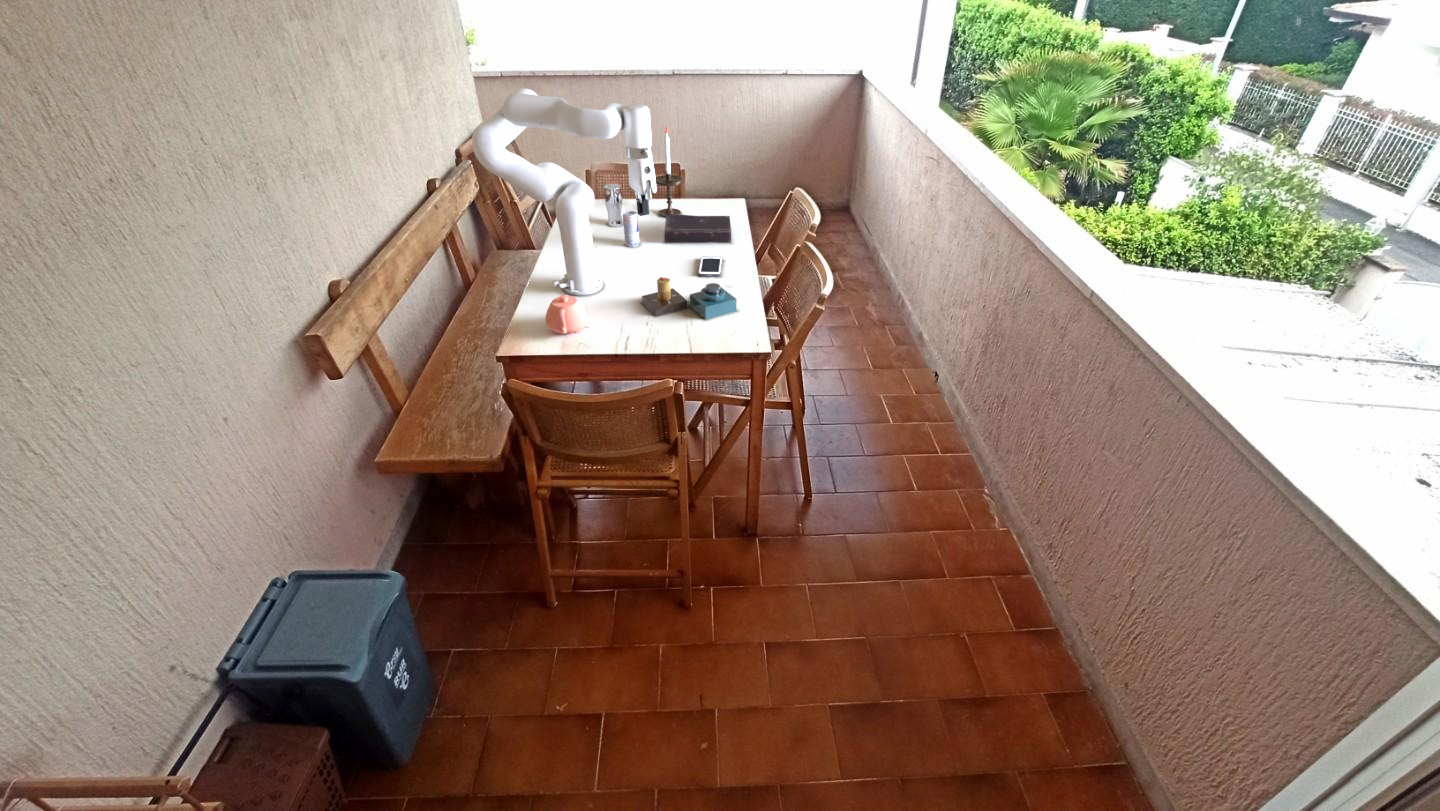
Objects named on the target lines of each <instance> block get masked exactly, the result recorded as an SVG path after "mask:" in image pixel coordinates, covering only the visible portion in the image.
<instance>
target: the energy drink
mask: <svg viewBox="0 0 1440 811" xmlns="http://www.w3.org/2000/svg"><path fill="white" fill-rule="evenodd" d="M622 220H623V234H624V235H623V236H624V242H625V243H624V244H625V246H626V247H627V248H636V247H639V245H640V242H641V241H640V231H639V218H638V213H637V211H634V210H628V211H624V212H622Z"/></svg>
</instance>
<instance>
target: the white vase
mask: <svg viewBox="0 0 1440 811" xmlns="http://www.w3.org/2000/svg"><path fill="white" fill-rule="evenodd" d="M603 198H604V199H603V200H604V204H605V208H606V212H607V225H608V226H610V227H615V228H616V227H620V226H624V224H623V214H622V209H623V193H622V187H621V184H618V183H608V184H605V185H603Z"/></svg>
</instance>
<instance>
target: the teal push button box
mask: <svg viewBox="0 0 1440 811" xmlns="http://www.w3.org/2000/svg"><path fill="white" fill-rule="evenodd" d="M689 307H690V308H691V309H693V311H695V312H696V313H697V314H698V315H700V316H701V317H702V318H703V319H705V320H709V319H713V318H715V317H720V316H723V315H727V314H730V313H734V312H737V298H736V297H735V296H734V295H732V294H731V293H729V292H728V291H727V290H726V289H724V288H723V287H722V286H720V293H719V294H717V295H709V294H706V286H704V287H703V288H701V290H700V291H697V292H693V293H690V294H689Z"/></svg>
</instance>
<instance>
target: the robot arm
mask: <svg viewBox="0 0 1440 811" xmlns="http://www.w3.org/2000/svg"><path fill="white" fill-rule="evenodd" d="M651 125H652V123H651V111H650V108H649V107H648V106H647V105H644V104H623V103H618V102H606V103H605V104H603V105H602V106H601V107H599V109H591V108H582V107H578V106H574V105H572V104H570V103H568V102H567V100H565V99H564V98H562V97H559V96H550V95H540V94H537V93H536V92H535V91H534V90H532V89H529V88H525V87H522V88H518V89H516V90H514V91H513V92H511V93H510V94H508V95H507V96H506V97H505V98H504V100H503V103H502V106H501V107H500V108H498V110H496V111H495V113H494V114H492V115H491V116H489V117H488V118H486V119H485V120H483V121H482V122H480V123H479V124H478V125H477V126H476V127H475V128H474V130H473V132H472V136H471V146H472V150H473V153H474V155H475V158H476V159H477V161H478V162H479V164H480V165H481V166H483V168H485V169H486V170H487V171H488V172H490V173H491V174H493V175H495V176H496V177H498V178H500V179H501V180H503V181H504V182H506V183H508V184H509V185H511V186H513V187H514V188H516V189H517V190H519V191H520V192H521V193H523V194H525V196H528V197H529V198H532V200H534V201H536V202H538V203H548V202H550V201H551V200H552V199H554V198H555V199H556V203H555V205H554V206H555V207H554V212H555V217H556V221H557V225H558V229H559V233H560V240H561V245H562V251H563V258H564V265H565V272H566V274H565V273H564V274H563V277H562V278H561V279H556V280H553V281H552V284H553V287H554V288H555V287H559V288H560V289H563V290H564V291H565V292H566V293H568V294H570V295H572V296H573V295H574V296H589V295H592V294H596V293H597V292H599V291H600V290H602V289H603V281H602V279H601V278H598V276H597V266H596V259H595V249H594V243H593V242H594V241H593V234H592V227H591V224H590V221H589V213H590V211H591V209H592V208H593V206H594V204H595V194H594V191H593V189H592V188H591V187H590V186H589V185H588V184H587V183H585V182H584V181H583V180H581V179H580V178H578V177H577V176H575V175H574V174H572V173H571V172H569V171H568V170H566V169H565V168H563V167H562V166H560V165H558V164H556V163H554V162H550V161H543V162H540V163H538V164H536V165H535V164H533V163H531V162H530V161H528V160H526V159H525V158H524V157H522V156H520V155H518V154H516V153H514V152H511V151H509V150H507V148H506V147H507V146H508V145H509V144H510V143H512V142H513V141H514V140H515V139H517V137H518V136H519V135H520V134H521V133H522V132H523V131H524V130H526V129H527V128H532V129H534V128H535V129H544V130H552V131H561V132H563V133H566V134H569V135H571V136H574V137H575V136H576V137H580V138H585V139H597V140H608V139H613V138H614V137H615V136H617V134H618V133H619V132H620V131H624V140H625V143H624V144H625V155H626V156H625V157H626V159H627V177H628V178H627V179H628V185H629V187H630V188H631V189H632V190H633V192H634V194H635V195H634V196H635V201H636V213H637V215H639V216H641V217H642V216H647V215H650V204H649V203H650V200H652V194H656V193H657V184H656V180H655V178H656V172H655V166H654V161H653V143H652V141H653V140H652V126H651Z"/></svg>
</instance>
